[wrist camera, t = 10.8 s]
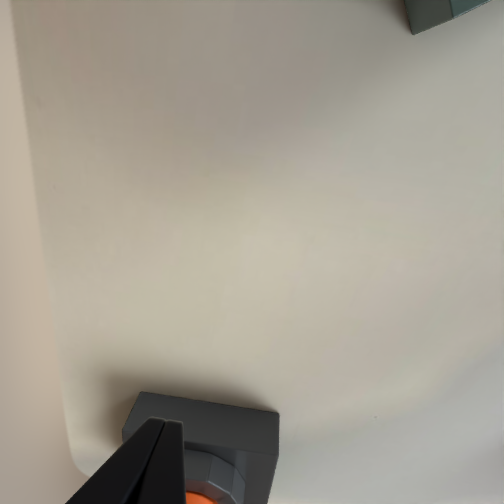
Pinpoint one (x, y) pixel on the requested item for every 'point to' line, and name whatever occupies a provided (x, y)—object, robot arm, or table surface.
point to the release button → (198, 498)
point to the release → (218, 445)
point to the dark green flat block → (436, 12)
